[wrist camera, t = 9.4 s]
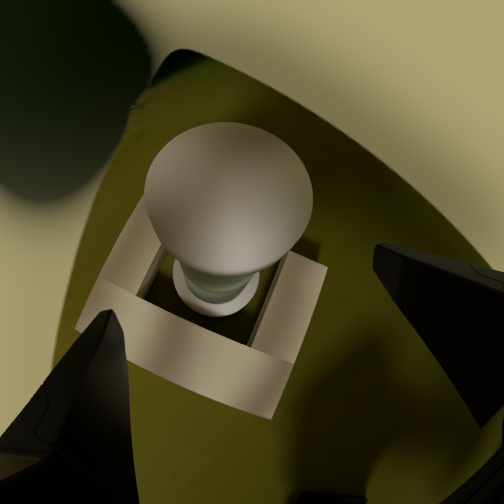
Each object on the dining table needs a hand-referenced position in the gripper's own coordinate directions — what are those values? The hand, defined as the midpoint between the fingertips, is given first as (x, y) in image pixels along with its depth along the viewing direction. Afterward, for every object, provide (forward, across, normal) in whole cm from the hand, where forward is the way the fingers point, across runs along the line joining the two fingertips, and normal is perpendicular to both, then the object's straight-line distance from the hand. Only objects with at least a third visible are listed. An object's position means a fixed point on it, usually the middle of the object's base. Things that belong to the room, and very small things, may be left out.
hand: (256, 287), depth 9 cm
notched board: (+10, +2, +8) cm, 12 cm away
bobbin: (+11, 0, +6) cm, 13 cm away
